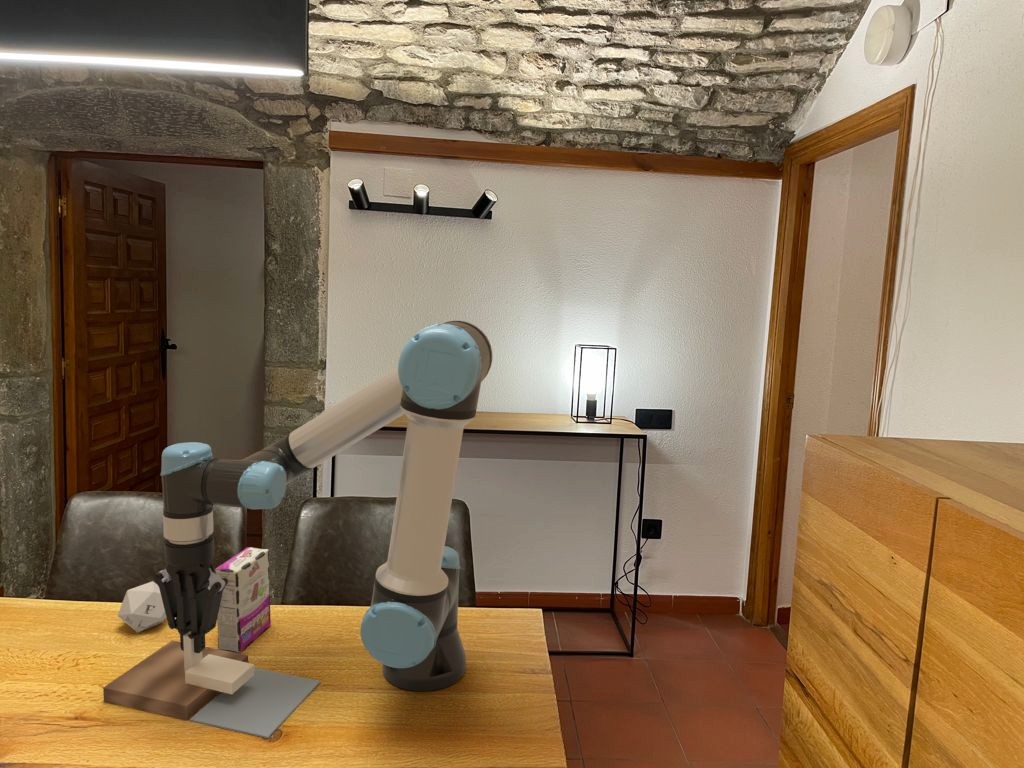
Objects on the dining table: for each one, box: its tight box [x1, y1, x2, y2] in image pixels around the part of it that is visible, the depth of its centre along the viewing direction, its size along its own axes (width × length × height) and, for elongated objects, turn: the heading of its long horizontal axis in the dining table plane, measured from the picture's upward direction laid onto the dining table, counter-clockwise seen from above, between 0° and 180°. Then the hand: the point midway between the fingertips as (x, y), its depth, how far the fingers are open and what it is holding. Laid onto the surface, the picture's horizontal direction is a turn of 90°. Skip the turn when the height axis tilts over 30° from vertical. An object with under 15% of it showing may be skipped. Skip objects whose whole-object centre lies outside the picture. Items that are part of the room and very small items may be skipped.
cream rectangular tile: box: [185, 654, 255, 694], centre depth 120 cm, size 9×6×2 cm, turn 75°
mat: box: [189, 667, 321, 739], centre depth 119 cm, size 14×16×1 cm
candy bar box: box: [215, 546, 272, 654], centre depth 138 cm, size 11×5×16 cm, turn 168°
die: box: [117, 580, 166, 634], centre depth 142 cm, size 8×9×10 cm
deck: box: [102, 640, 249, 721], centre depth 123 cm, size 16×16×2 cm
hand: (193, 668), depth 122 cm, fingers closed
